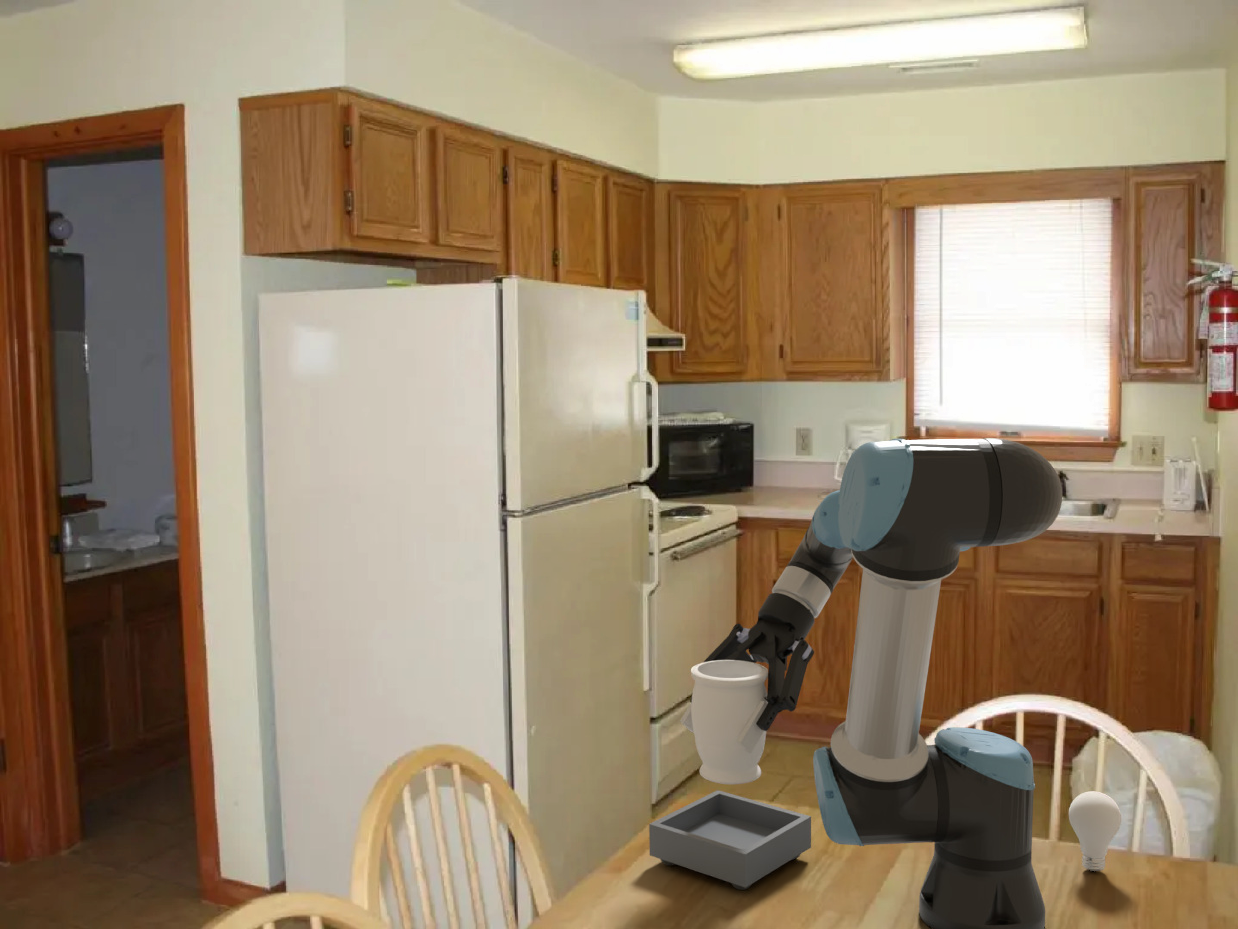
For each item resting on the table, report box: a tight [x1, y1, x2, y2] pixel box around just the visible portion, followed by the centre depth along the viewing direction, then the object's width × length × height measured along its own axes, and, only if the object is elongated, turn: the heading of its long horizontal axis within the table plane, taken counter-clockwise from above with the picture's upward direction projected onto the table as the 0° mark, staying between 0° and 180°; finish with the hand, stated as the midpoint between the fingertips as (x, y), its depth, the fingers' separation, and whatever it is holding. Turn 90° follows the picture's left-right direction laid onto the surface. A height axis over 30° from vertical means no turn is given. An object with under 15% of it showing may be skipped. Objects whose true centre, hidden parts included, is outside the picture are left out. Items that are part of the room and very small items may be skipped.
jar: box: [690, 660, 768, 785], centre depth 173 cm, size 11×10×15 cm
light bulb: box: [1068, 790, 1122, 873], centre depth 170 cm, size 7×7×11 cm
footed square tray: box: [648, 789, 812, 891], centre depth 174 cm, size 16×16×6 cm
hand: (714, 737), depth 171 cm, fingers closed on jar, 10 cm apart
